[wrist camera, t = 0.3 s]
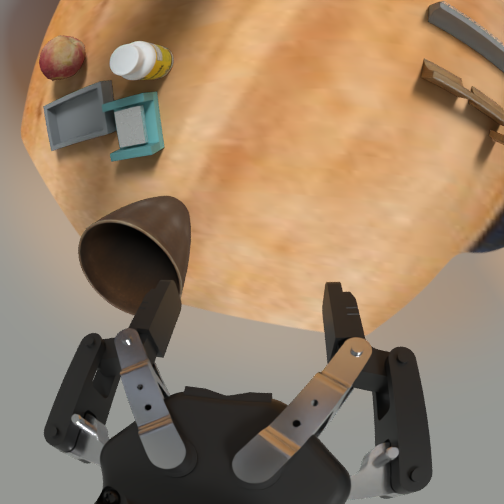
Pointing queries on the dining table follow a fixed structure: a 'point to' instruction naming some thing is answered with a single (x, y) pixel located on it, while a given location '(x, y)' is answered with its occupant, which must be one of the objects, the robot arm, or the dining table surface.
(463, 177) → the dining table surface
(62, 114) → the trough
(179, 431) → the robot arm
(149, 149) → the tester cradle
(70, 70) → the fruit
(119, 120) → the plate
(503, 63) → the skate ramp
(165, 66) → the supplement bottle
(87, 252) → the plant pot
